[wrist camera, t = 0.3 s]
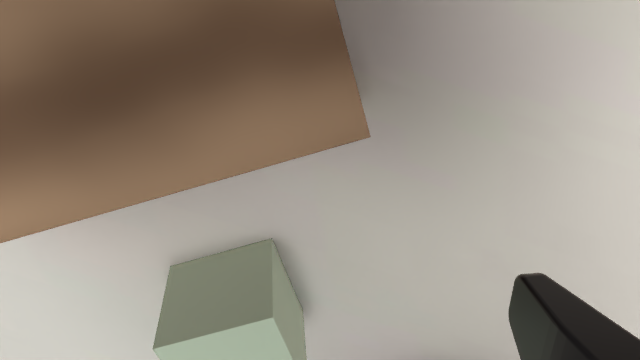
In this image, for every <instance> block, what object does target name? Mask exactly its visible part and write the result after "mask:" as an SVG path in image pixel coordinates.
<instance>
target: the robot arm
mask: <svg viewBox="0 0 640 360" xmlns="http://www.w3.org/2000/svg"><path fill="white" fill-rule="evenodd" d="M509 322H510V326H511V329H512V332H513V336H514V339H515V342H516V345H517V349H518V352H519V355H520V358H521V360H640V339H638V338H637V337H635V336H634V335H632V334H631V333H629V332H628V331H627V330H625V329H624V328H622V327H621V326H619V325H618V324H616V323H615V322H613V321H612V320H610V319H609V318H608V317H606V316H605V315H603V314H602V313H600V312H599V311H597V310H596V309H594V308H593V307H591V306H590V305H589V304H587V303H586V302H584V301H583V300H581V299H580V298H578V297H577V296H575V295H574V294H572V293H571V292H570V291H568V290H567V289H565V288H564V287H562V286H561V285H559V284H558V283H556V282H555V281H554V280H552V279H551V278H549V277H548V276H546V275H544V274H542V273H531V274H520V275H518V276H517V277H516V279H515V282H514V286H513V291H512V296H511V301H510V306H509Z"/></svg>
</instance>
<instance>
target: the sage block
mask: <svg viewBox="0 0 640 360" xmlns="http://www.w3.org/2000/svg"><path fill="white" fill-rule="evenodd" d="M153 351H154V352H155V353H156V355H157V356H158V358H159V359H160V360H307V359H306V346H305V333H304V320H303V310H302V308H301V306H300V303H299V301H298V299H297V296H296V294H295V292H294V289H293V287H292V285H291V282H290V280H289V278H288V275H287V273H286V271H285V268H284V266H283V264H282V261H281V259H280V257H279V254H278V252H277V250H276V247H275V245H274V243H273V240H272V238H271V239H268V240H264V241H260V242H257V243H253V244H249V245H246V246H242V247H239V248H235V249H231V250H228V251H224V252H220V253H217V254H213V255H210V256H206V257H202V258H199V259H195V260H191V261H188V262H184V263H181V264H177V265H173V266H170V270H169V275H168V280H167V284H166V289H165V294H164V298H163V303H162V308H161V313H160V317H159V322H158V327H157V331H156V336H155V341H154V345H153Z"/></svg>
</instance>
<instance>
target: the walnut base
mask: <svg viewBox="0 0 640 360" xmlns="http://www.w3.org/2000/svg"><path fill="white" fill-rule="evenodd" d="M369 137H370V133H369V129H368V126H367V122H366V118H365V114H364V111H363V107H362V103H361V99H360V95H359V92H358V88H357V84H356V80H355V77H354V73H353V69H352V65H351V62H350V58H349V54H348V50H347V47H346V43H345V39H344V35H343V31H342V28H341V24H340V20H339V16H338V13H337V9H336V5H335V1H334V0H0V243H3V242H6V241H10V240H13V239H17V238H20V237H23V236H27V235H30V234H34V233H37V232H41V231H44V230H48V229H51V228H55V227H58V226H62V225H65V224H69V223H72V222H76V221H79V220H83V219H86V218H90V217H93V216H97V215H100V214H104V213H107V212H111V211H114V210H118V209H121V208H125V207H128V206H132V205H135V204H138V203H142V202H145V201H149V200H152V199H156V198H159V197H163V196H166V195H170V194H173V193H177V192H180V191H184V190H187V189H191V188H194V187H198V186H201V185H205V184H208V183H212V182H215V181H219V180H222V179H226V178H229V177H233V176H236V175H240V174H243V173H247V172H250V171H254V170H257V169H260V168H264V167H267V166H271V165H274V164H278V163H281V162H285V161H288V160H292V159H295V158H299V157H302V156H306V155H309V154H313V153H316V152H320V151H323V150H327V149H330V148H334V147H337V146H341V145H344V144H348V143H351V142H355V141H358V140H362V139H365V138H369Z"/></svg>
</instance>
